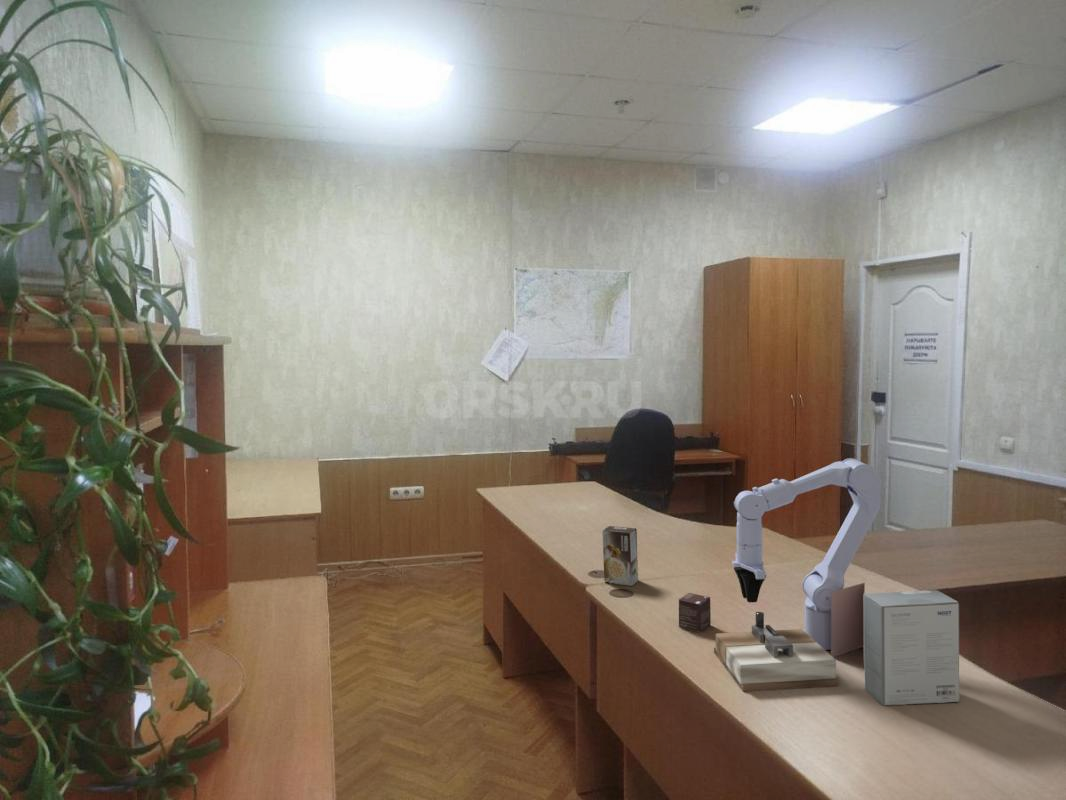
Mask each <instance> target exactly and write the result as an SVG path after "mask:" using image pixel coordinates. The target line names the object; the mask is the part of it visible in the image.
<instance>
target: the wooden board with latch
mask: <svg viewBox="0 0 1066 800" xmlns="http://www.w3.org/2000/svg"><path fill="white" fill-rule="evenodd" d="M765 628H766V629H767V630H768V631H769V632H770V633H771V634H772V635H773V636H769V637H765V640H764V639H763V633H762V632H761V631H760V630H759V629H758V628H757V627H756V626H755V625H751V631H738V632H719V633H715V647H713V653H714V654H715V656H716V657H717V658H718V660H719V661H720V663H721V664H722V665H723V666H724V668H725V669H726V670H727V672H728V674H729V675H730V676H731V677H732V679H733V680H734V681H735V682H736V685H738V687H739V688H740V690H741V691H742V692H748V691H749V692H750V691H751V692H752V691H769V690H782V689H783V690H784V689H785V690H786V689H803V688H820V687H822V688H823V687H838V686H839V680H838V679H837V675H836V674H837V673H836V672H837V671H836V670H837V669H836V666H837V665H836V664H837V663H836V661H837V660H836V658H835V657H832V656H831V653H829V652H828V651H827V650H824V649H823V648H822V647H821V646H820V645H819V644H818V643H817V642H815V641H814V640H813V639H812V638H811V637H810V636H809V635H808V634H807V633H805V630H803V629H802V628H795V629H794V628H793V629H792V628H791V629H777V630H775V629H774V628H773V627H772V626H771V625H770V624H765Z"/></svg>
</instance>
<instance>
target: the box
mask: <svg viewBox="0 0 1066 800" xmlns="http://www.w3.org/2000/svg"><path fill="white" fill-rule="evenodd" d="M711 615H712V614H711V597H710V596H707V595H701V594H697V593H692V592H688V593H687V594H685V595H684V596H682V597H680V598H679V599H678V627H679V628H680V629H685V630H688V631H689V630H690V631H692V632H697V633H701V632H703V631H705V630H706V629H707V628H708V627H710V626H711V623H712V622H711V621H712V620H711V618H712V617H711Z"/></svg>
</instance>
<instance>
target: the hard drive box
mask: <svg viewBox="0 0 1066 800" xmlns="http://www.w3.org/2000/svg"><path fill="white" fill-rule="evenodd" d="M863 596H864V689H865V690H866V691H867V692H868V693H869V694H870V695H871V696H872V697H873V698H874V699H875V700H876V701H877V702H878V703H879V704H881V705H882V706H904V705H917V704H946V703H957V702H958V703H959V702H960V603H959V601H958V600H956V599H954V598H952V597H951V596H949V595H947V594H945V593H943V592H941V590H938V589H930V590H929V589H928V590H909V591H906V590H905V591H895V592H894V591H893V592H891V591H890V592H877V593H865V594H863Z"/></svg>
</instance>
